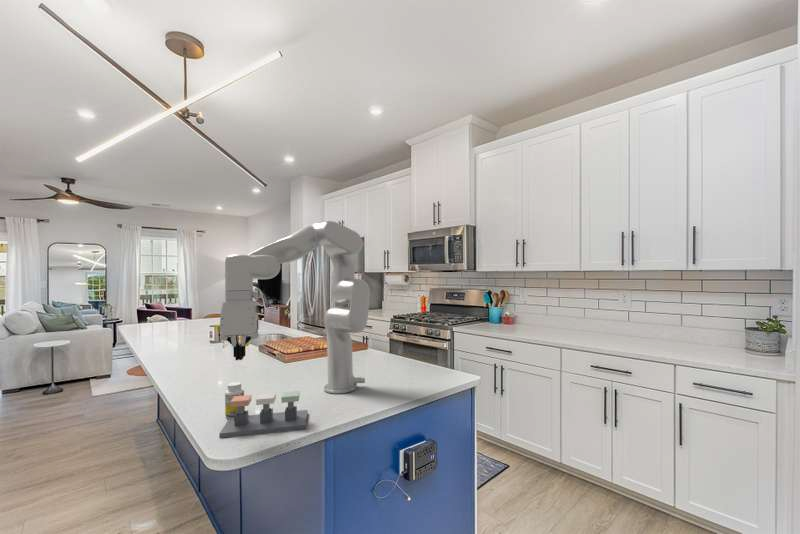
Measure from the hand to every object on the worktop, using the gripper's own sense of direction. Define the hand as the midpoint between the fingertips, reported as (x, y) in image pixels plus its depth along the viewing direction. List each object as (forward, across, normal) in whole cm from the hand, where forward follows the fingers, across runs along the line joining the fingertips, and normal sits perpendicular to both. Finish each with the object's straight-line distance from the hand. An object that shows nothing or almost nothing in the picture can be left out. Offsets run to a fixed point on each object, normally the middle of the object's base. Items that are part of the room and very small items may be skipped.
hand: (239, 359), depth 109 cm
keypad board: (+20, -7, 0) cm, 21 cm away
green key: (+16, -14, 0) cm, 22 cm away
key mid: (+16, -7, 0) cm, 18 cm away
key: (+16, 0, 0) cm, 16 cm away
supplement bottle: (+20, +4, -10) cm, 23 cm away
